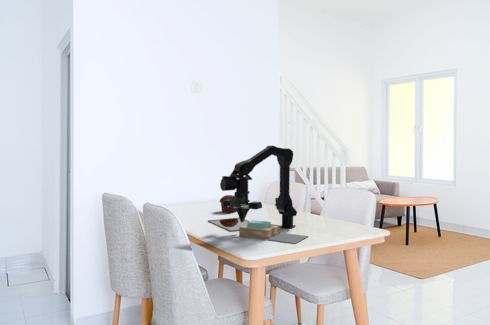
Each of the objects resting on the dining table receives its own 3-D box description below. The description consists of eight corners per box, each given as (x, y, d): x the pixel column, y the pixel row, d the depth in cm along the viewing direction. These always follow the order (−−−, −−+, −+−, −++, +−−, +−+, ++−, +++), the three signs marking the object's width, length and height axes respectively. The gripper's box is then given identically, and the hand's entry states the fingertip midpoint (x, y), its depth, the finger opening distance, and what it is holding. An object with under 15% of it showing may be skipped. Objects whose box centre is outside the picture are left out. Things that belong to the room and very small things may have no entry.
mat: (281, 233, 199) (281, 232, 199) (308, 236, 192) (308, 236, 192) (267, 240, 186) (267, 239, 186) (295, 244, 179) (295, 243, 179)
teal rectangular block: (253, 224, 201) (253, 219, 201) (270, 226, 197) (270, 221, 196) (247, 226, 196) (247, 222, 196) (264, 228, 191) (264, 224, 191)
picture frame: (264, 228, 212) (239, 219, 236) (264, 226, 212) (239, 217, 236) (230, 232, 203) (207, 222, 227) (230, 230, 203) (207, 220, 227)
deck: (253, 230, 206) (253, 222, 205) (279, 233, 199) (280, 225, 199) (239, 236, 194) (239, 227, 193) (266, 239, 187) (266, 230, 186)
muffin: (237, 210, 264) (237, 194, 264) (239, 213, 253) (239, 196, 253) (218, 210, 263) (218, 194, 262) (220, 213, 252) (220, 196, 251)
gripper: (216, 190, 197) (216, 223, 198) (251, 192, 188) (251, 227, 189) (228, 187, 207) (228, 219, 208) (262, 190, 198) (262, 223, 199)
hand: (242, 222), depth 201 cm, fingers closed
